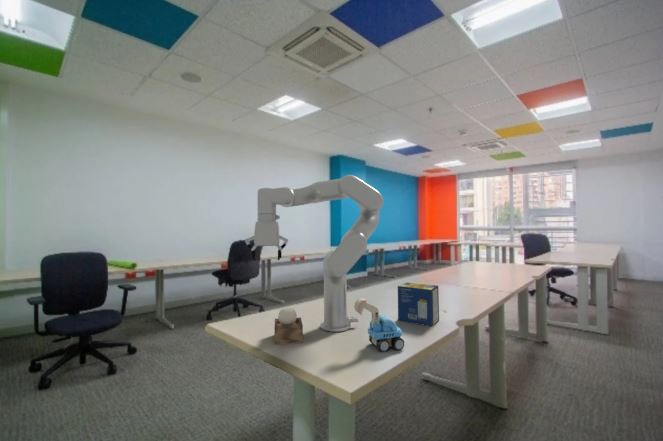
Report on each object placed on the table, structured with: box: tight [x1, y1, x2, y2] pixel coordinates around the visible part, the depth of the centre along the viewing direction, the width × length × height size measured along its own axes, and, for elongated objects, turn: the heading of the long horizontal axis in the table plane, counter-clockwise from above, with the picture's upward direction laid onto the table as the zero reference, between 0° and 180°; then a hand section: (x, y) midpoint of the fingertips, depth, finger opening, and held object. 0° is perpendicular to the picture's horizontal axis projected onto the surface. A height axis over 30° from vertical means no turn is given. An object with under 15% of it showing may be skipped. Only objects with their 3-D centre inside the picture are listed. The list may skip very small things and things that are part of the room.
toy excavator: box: [353, 297, 405, 353], centre depth 106 cm, size 9×17×17 cm, turn 106°
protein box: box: [397, 282, 440, 327], centre depth 137 cm, size 10×15×16 cm
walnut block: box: [274, 317, 304, 345], centre depth 115 cm, size 10×10×6 cm
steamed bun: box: [277, 306, 298, 325], centre depth 115 cm, size 7×7×7 cm
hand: (266, 260), depth 125 cm, fingers open, 9 cm apart
